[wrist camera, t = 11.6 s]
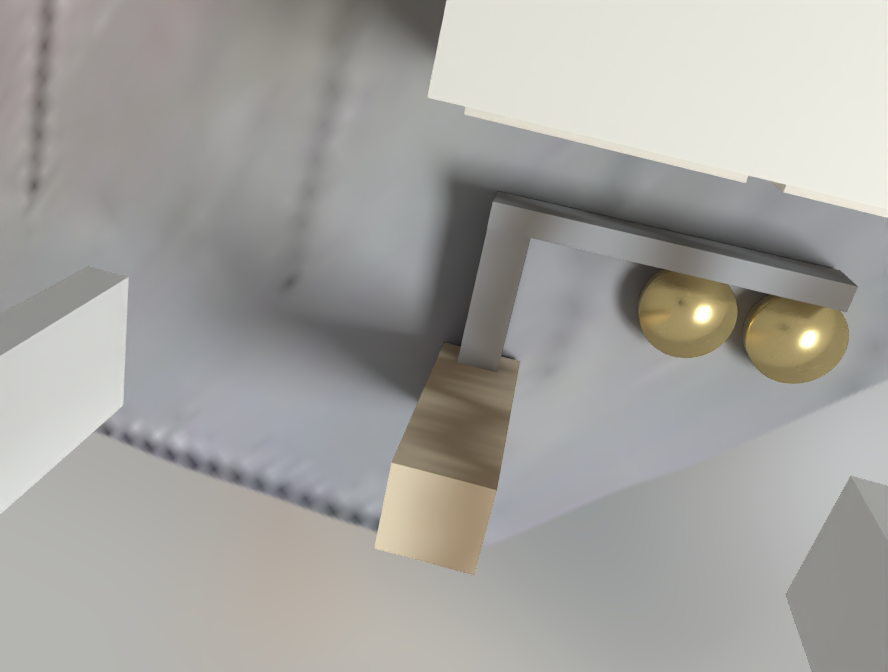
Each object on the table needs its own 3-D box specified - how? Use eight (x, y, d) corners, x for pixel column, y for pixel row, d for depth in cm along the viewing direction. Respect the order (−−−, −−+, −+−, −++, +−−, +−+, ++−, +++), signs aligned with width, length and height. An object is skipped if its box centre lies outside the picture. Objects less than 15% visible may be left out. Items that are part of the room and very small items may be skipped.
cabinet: (470, 85, 35) (425, 106, 24) (534, -210, 30) (512, -332, 20) (963, 204, 33) (1133, 279, 23) (1107, -88, 29) (1395, -153, 19)
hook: (429, 409, 41) (374, 548, 30) (477, 186, 36) (433, 254, 25) (747, 490, 40) (811, 666, 29) (840, 270, 35) (960, 380, 24)
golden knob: (630, 340, 38) (631, 350, 37) (647, 256, 36) (649, 263, 35) (720, 354, 38) (725, 364, 36) (742, 269, 36) (747, 276, 35)
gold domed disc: (732, 365, 38) (736, 375, 37) (755, 280, 36) (761, 288, 35) (824, 379, 37) (832, 390, 36) (852, 294, 36) (861, 303, 34)
